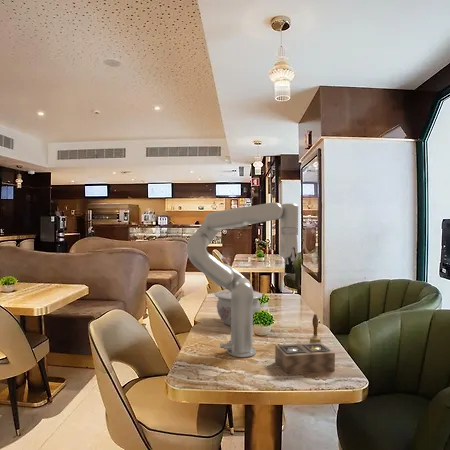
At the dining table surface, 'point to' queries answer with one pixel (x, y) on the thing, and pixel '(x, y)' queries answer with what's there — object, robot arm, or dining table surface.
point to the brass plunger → (315, 348)
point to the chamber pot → (225, 304)
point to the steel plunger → (292, 350)
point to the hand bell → (315, 331)
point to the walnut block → (304, 358)
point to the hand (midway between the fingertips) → (288, 273)
